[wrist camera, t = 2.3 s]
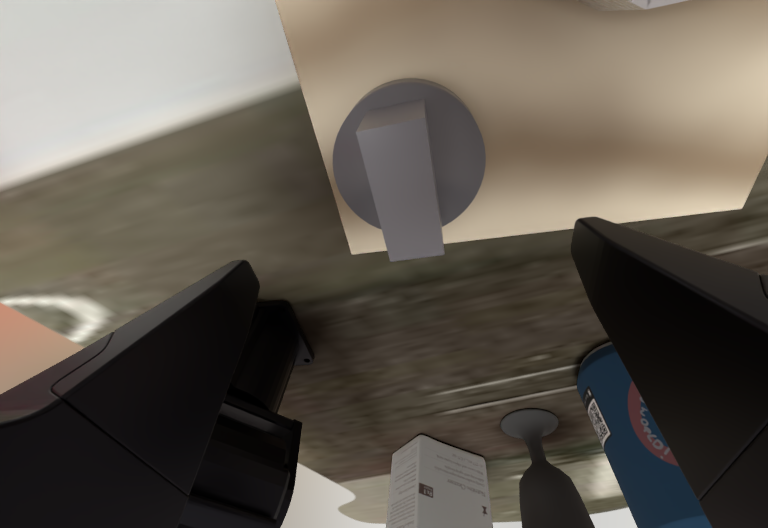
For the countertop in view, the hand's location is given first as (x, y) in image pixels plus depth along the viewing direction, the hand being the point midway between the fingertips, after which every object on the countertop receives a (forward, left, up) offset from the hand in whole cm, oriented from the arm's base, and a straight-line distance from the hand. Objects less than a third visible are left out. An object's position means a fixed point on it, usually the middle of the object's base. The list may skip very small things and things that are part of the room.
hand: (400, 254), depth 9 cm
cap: (0, 0, -8) cm, 8 cm away
